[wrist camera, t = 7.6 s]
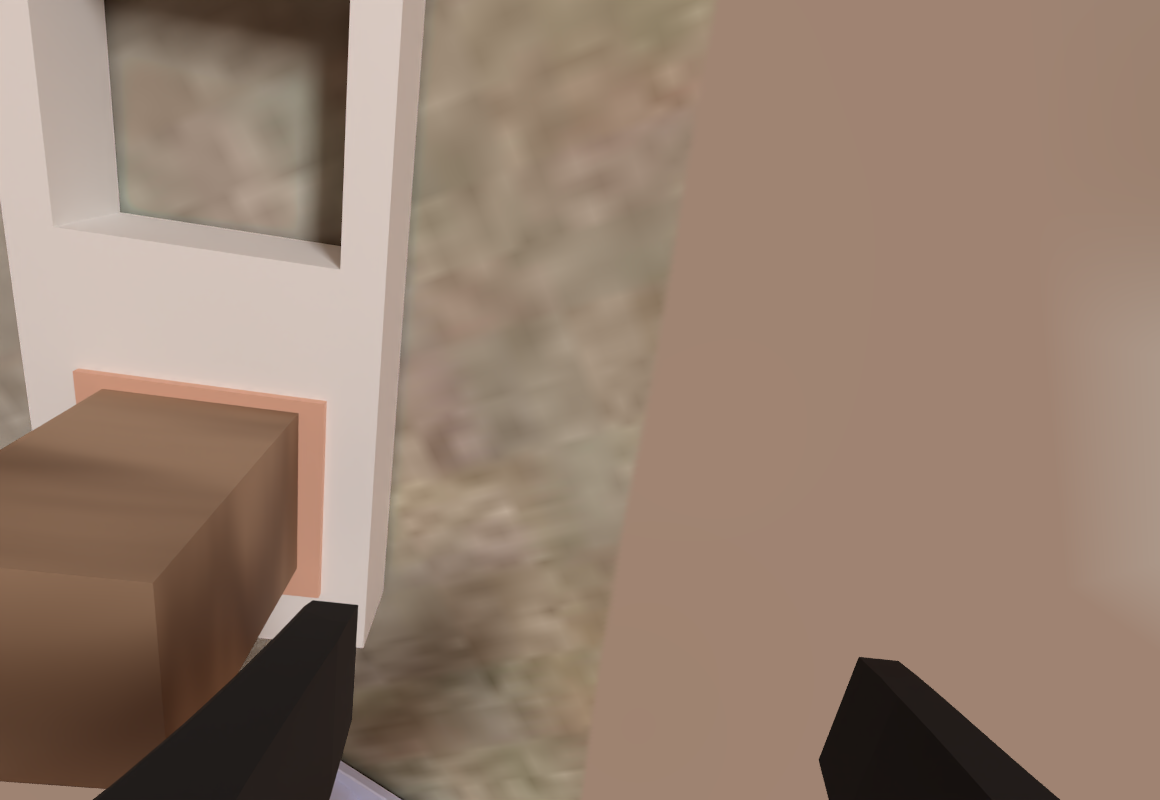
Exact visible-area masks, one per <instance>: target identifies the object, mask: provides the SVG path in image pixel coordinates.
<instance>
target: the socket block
mask: <svg viewBox="0 0 1160 800" xmlns="http://www.w3.org/2000/svg"><path fill="white" fill-rule="evenodd" d="M425 3H426V0H350V20H349V47H348V74H347V101H346V128H345V156H344V183H343V210H342V237H341V246H337V245H330V244H324V243H317V242H311V241H304V240H298V239H291V238H284V237H278V236H271V235H265V234H258V233H252V232H245V231H239V230H232V229H226V228H219V227H213V226H206V225H200V224H193V223H187V222H180V221H174V220H167V219H161V218H154V217H147V216H141V215H134V214H128V213H121V212H120V202H119V189H118V176H117V163H116V150H115V137H114V124H113V111H112V98H111V85H110V72H109V59H108V46H107V33H106V20H105V7H104V0H0V201H1V208H2V215H3V223H4V230H5V237H6V244H7V252H8V259H9V266H10V273H11V281H12V288H13V295H14V302H15V310H16V317H17V324H18V332H19V339H20V346H21V353H22V361H23V368H24V375H25V382H26V390H27V397H28V404H29V411H30V419H31V426H32V431H33V430H34V429H36V428H38V427H39V426H41V425H43V424H44V423H46V422H48V421H49V420H51V419H53V418H54V417H56V416H58V415H59V414H61V413H63V412H64V411H66V410H68V409H69V408H71V407H73V406H74V405H76V404H78V403H79V402H81V401H83V400H84V399H86V398H88V397H89V396H91V395H93V394H94V393H96V392H98V391H99V390H101V389H108V390H116V391H124V392H132V393H140V394H148V395H156V396H164V397H173V398H181V399H189V400H197V401H205V402H213V403H221V404H229V405H237V406H245V407H253V408H261V409H269V410H277V411H285V412H293V413H299V425H298V526H297V569H296V571H295V573H294V574H293V576H292V578H291V580H290V582H289V583H288V585H287V587H286V589H285V590H284V592H283V594H282V596H281V598H280V599H279V601H278V603H277V605H276V606H275V608H274V610H273V612H272V613H271V615H270V617H269V619H268V621H267V622H266V624H265V626H264V628H263V629H262V631H261V633H260V635H259V637H258V638H265V639H273V638H274V637H275V636H276V635H277V634H278V633H279V632H280V631H281V630H282V629H283V628H284V627H285V626H286V625H287V624H288V623H289V622H290V621H291V619H292V618H293V617H294V616H295V615H296V614H297V613H298V612H299V611H300V610H301V609H302V608H303V607H304V606H305V605H307V604H308V603H310V602H311V601H312V600H315V601H325V602H335V603H344V604H354V605H358V620H357V637H356V647H357V648H364V645H365V642H366V639H367V636H368V633H369V631H370V628H371V625H372V622H373V619H374V616H375V614H376V611H377V608H378V605H379V602H380V599H381V597H382V594H383V588H384V574H385V560H386V546H387V532H388V519H389V505H390V491H391V477H392V463H393V449H394V435H395V421H396V407H397V393H398V379H399V365H400V351H401V337H402V323H403V309H404V295H405V281H406V267H407V254H408V240H409V226H410V212H411V198H412V184H413V170H414V156H415V142H416V128H417V114H418V100H419V86H420V72H421V58H422V44H423V30H424V16H425Z"/></svg>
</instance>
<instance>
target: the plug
mask: <svg viewBox="0 0 1160 800" xmlns="http://www.w3.org/2000/svg"><path fill="white" fill-rule="evenodd" d="M298 425H299V413H293V412H285V411H277V410H269V409H261V408H253V407H245V406H237V405H229V404H221V403H213V402H205V401H197V400H189V399H181V398H173V397H164V396H156V395H148V394H140V393H132V392H124V391H116V390H108V389H101V390H99V391H98V392H96V393H94V394H93V395H91V396H89V397H88V398H86V399H84V400H83V401H81V402H79V403H78V404H76V405H74V406H73V407H71V408H69V409H68V410H66V411H64V412H63V413H61V414H59V415H58V416H56V417H54V418H53V419H51V420H49V421H48V422H46V423H44V424H43V425H41V426H39V427H38V428H36V429H34V430H33V431H31V432H29V433H28V434H26V435H24V436H23V437H21V438H19V439H18V440H16V441H14V442H13V443H11V444H9V445H8V446H6V447H4V448H3V449H1V450H0V781H6V782H18V783H32V784H33V783H34V784H46V785H47V784H48V785H60V786H74V787H88V788H102V789H107V788H108V787H109V786H111V785H112V784H113V783H114V782H116V781H117V780H118V779H119V778H121V777H122V776H123V775H124V774H125V773H126V772H128V771H129V770H130V769H131V768H132V767H133V766H135V765H136V764H137V763H138V762H139V761H141V760H142V759H143V758H144V757H145V756H146V755H148V754H149V753H150V752H151V751H152V750H153V749H155V748H156V747H157V746H158V745H159V744H160V743H162V742H163V741H164V740H165V739H166V738H168V737H169V736H170V735H171V734H172V733H173V732H175V731H176V730H177V729H178V728H179V727H180V726H182V725H183V724H184V723H185V722H186V721H187V720H188V719H189V718H190V717H192V716H193V715H194V714H195V713H196V712H197V711H198V710H199V709H200V708H201V707H202V706H203V705H205V704H206V703H207V702H208V701H209V700H210V699H211V698H212V697H213V696H214V695H215V694H216V693H217V692H218V691H220V690H221V689H222V688H223V687H224V686H225V685H226V684H227V683H228V682H229V681H230V680H231V679H232V678H234V677H235V676H236V675H237V674H238V672H239V670H240V668H241V667H242V665H243V663H244V661H245V660H246V658H247V656H248V654H249V652H250V651H251V649H252V647H253V645H254V644H255V642H256V640H257V638H258V637H259V635H260V633H261V631H262V629H263V628H264V626H265V624H266V622H267V621H268V619H269V617H270V615H271V613H272V612H273V610H274V608H275V606H276V605H277V603H278V601H279V599H280V598H281V596H282V594H283V592H284V590H285V589H286V587H287V585H288V583H289V582H290V580H291V578H292V576H293V574H294V573H295V571H296V569H297V526H298Z"/></svg>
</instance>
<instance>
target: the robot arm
mask: <svg viewBox="0 0 1160 800" xmlns="http://www.w3.org/2000/svg"><path fill="white" fill-rule="evenodd" d="M357 620H358V605H354V604H344V603H335V602H325V601H315V600H312V601H311V602H310V603H308V604H307V605H305V606H304V607H303V608H302V609H301V610H300V611H299V612H298V613H297V614H296V615H295V616H294V617H293V618H292V619H291V621H290V622H289V623H288V624H287V625H286V626H285V627H284V628H283V629H282V630H281V631H280V632H279V633H278V634H277V635H276V636H275V637H274V638H273V639H272V640H271V641H270V642H269V643H268V644H267V645H266V646H265V647H264V648H263V649H262V650H261V651H260V652H259V653H258V654H257V655H256V656H255V657H254V658H253V659H252V660H251V661H250V662H249V663H248V664H247V665H246V666H245V667H244V668H243V669H242V670H241V671H240V672H239V673H238V674H237V675H236V676H235V677H234V678H232V679H231V680H230V681H229V682H228V683H227V684H226V685H225V686H224V687H223V688H222V689H221V690H220V691H218V692H217V693H216V694H215V695H214V696H213V697H212V698H211V699H210V700H209V701H208V702H207V703H206V704H205V705H203V706H202V707H201V708H200V709H199V710H198V711H197V712H196V713H195V714H194V715H193V716H192V717H190V718H189V719H188V720H187V721H186V722H185V723H184V724H183V725H182V726H180V727H179V728H178V729H177V730H176V731H175V732H173V733H172V734H171V735H170V736H169V737H168V738H166V739H165V740H164V741H163V742H162V743H160V744H159V745H158V746H157V747H156V748H155V749H153V750H152V751H151V752H150V753H149V754H148V755H146V756H145V757H144V758H143V759H142V760H141V761H139V762H138V763H137V764H136V765H135V766H133V767H132V768H131V769H130V770H129V771H128V772H126V773H125V774H124V775H123V776H122V777H121V778H119V779H118V780H117V781H116V782H114V783H113V784H112V785H111V786H109V787H108V788H107V789H106V790H104V791H103V792H102V793H101V794H99V795H98V796H97V797H96V798H94V799H93V800H402V799H400V798H398V797H397V796H395V795H394V794H392V793H391V792H389V791H387V790H386V789H384V788H383V787H381V786H380V785H378V784H377V783H375V782H373V781H372V780H370V779H369V778H367V777H366V776H364V775H362V774H361V773H359V772H358V771H356V770H355V769H353V768H351V767H350V766H348V765H347V764H345V763H344V762H342V761H341V757H342V754H343V750H344V746H345V742H346V739H347V735H348V731H349V728H350V724H351V720H352V708H353V691H354V673H355V655H356V637H357ZM819 763H820V767H821V771H822V775H823V778H824V782H825V786H826V790H827V794H828V798H829V800H1060V799H1059V798H1057V797H1056V796H1055V795H1054V794H1053V793H1051V792H1050V791H1049V790H1048V789H1047V788H1046V787H1045V786H1043V785H1042V784H1041V783H1040V782H1039V781H1038V780H1036V779H1035V778H1034V777H1033V776H1032V775H1030V774H1029V773H1028V772H1027V771H1026V770H1025V769H1024V768H1022V767H1021V766H1020V765H1019V764H1018V763H1016V761H1014V760H1013V759H1012V758H1011V757H1010V756H1009V755H1008V754H1006V753H1005V752H1004V751H1003V750H1002V749H1001V748H1000V747H998V746H997V745H996V744H995V743H994V742H992V740H990V739H989V738H988V737H987V736H986V735H985V734H984V733H982V732H981V731H980V730H979V729H978V728H977V727H976V726H974V725H973V724H972V723H971V722H970V721H969V720H968V719H967V718H965V717H964V716H963V715H962V714H961V713H960V712H959V711H957V710H956V709H955V708H954V707H953V706H952V705H950V704H949V703H948V702H947V701H946V700H945V699H944V698H942V697H941V696H940V695H939V694H938V693H937V692H935V691H934V690H933V689H932V688H931V687H929V685H927V684H926V683H925V682H924V681H923V680H921V679H920V678H919V677H918V676H917V675H915V674H914V673H913V672H911V671H910V670H909V669H908V668H906V667H905V666H904V665H903V664H901V663H900V662H899V661H892V660H883V659H873V658H864V657H859V658H858V661H857V663H856V666H855V668H854V671H853V673H852V676H851V679H850V681H849V684H848V686H847V689H846V691H845V694H844V697H843V699H842V702H841V704H840V707H839V709H838V712H837V714H836V717H835V720H834V722H833V725H832V727H831V730H830V732H829V735H828V737H827V740H826V742H825V745H824V748H823V750H822V753H821V755H820V758H819Z"/></svg>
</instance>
